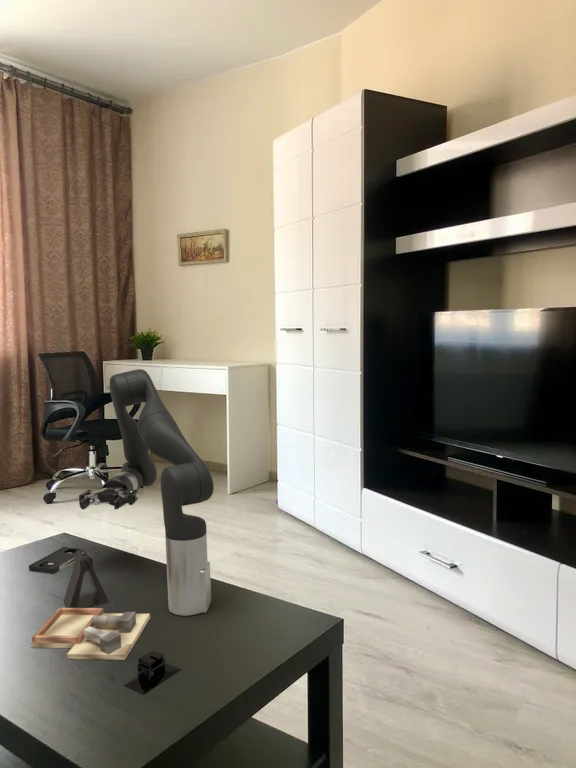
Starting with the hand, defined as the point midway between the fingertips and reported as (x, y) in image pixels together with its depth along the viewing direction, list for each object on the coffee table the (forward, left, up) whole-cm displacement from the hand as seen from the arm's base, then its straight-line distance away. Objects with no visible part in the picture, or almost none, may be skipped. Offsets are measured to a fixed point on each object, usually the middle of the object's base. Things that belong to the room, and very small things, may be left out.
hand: (98, 505), depth 155 cm
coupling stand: (-7, +27, -20) cm, 34 cm away
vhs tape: (+17, -13, -21) cm, 30 cm away
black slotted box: (-24, +41, -21) cm, 52 cm away
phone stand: (0, +11, -20) cm, 23 cm away
